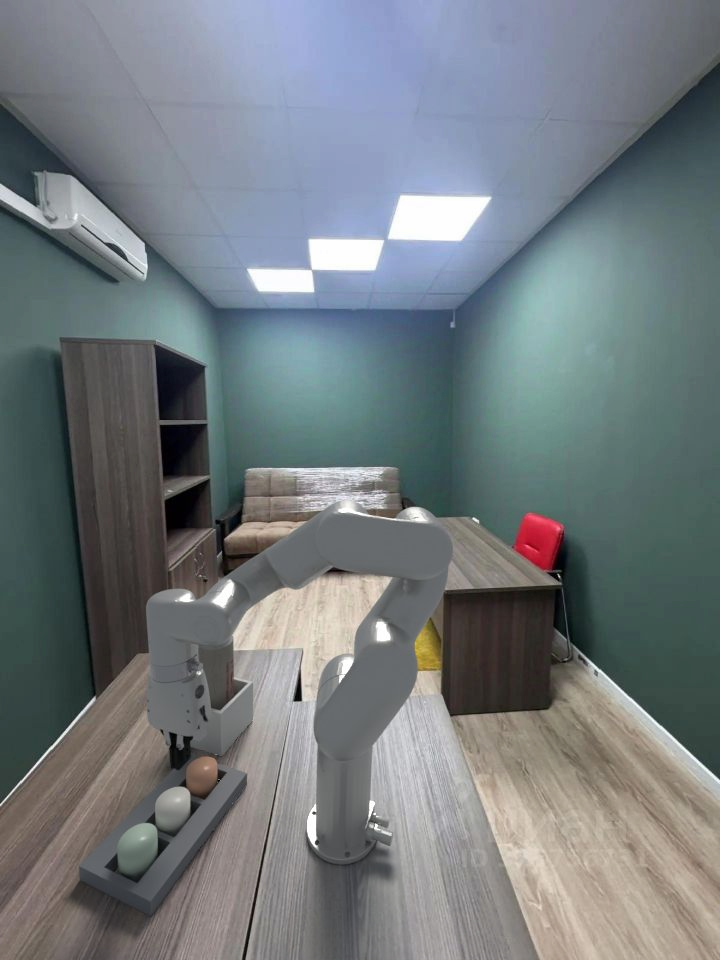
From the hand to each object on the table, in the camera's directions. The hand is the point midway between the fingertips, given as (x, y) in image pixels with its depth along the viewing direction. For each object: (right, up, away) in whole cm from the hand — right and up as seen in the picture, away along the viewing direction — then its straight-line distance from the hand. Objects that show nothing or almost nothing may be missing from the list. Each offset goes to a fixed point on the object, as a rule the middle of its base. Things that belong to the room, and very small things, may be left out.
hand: (180, 763), depth 73 cm
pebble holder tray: (-2, -12, +1) cm, 12 cm away
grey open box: (-2, -9, +24) cm, 26 cm away
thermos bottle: (-2, -9, +25) cm, 26 cm away
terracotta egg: (+1, -10, +8) cm, 13 cm away
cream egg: (-2, -11, +1) cm, 11 cm away
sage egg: (-4, -12, -6) cm, 14 cm away
